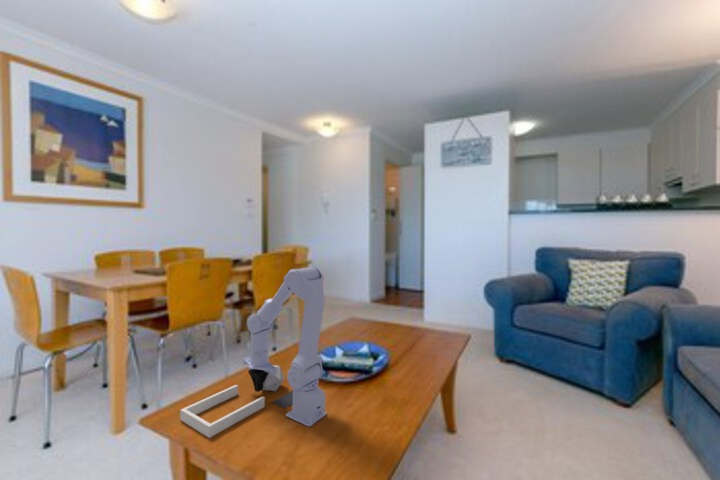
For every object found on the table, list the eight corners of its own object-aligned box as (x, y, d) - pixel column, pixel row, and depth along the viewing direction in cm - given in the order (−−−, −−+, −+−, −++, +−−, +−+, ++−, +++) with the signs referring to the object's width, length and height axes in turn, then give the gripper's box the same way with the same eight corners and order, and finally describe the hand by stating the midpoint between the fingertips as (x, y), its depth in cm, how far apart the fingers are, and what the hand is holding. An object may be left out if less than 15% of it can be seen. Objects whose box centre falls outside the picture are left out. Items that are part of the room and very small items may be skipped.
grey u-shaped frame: (264, 406, 101) (264, 397, 101) (209, 437, 86) (209, 426, 86) (236, 393, 109) (236, 384, 109) (180, 419, 93) (180, 409, 93)
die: (266, 399, 106) (285, 373, 109) (247, 382, 109) (266, 357, 111) (274, 397, 114) (292, 373, 116) (257, 381, 116) (274, 358, 119)
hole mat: (307, 395, 109) (307, 394, 109) (285, 408, 100) (285, 408, 100) (294, 390, 112) (294, 389, 112) (271, 402, 104) (271, 402, 104)
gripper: (235, 348, 108) (234, 388, 109) (265, 359, 100) (264, 402, 101) (252, 342, 114) (251, 380, 115) (282, 352, 106) (281, 393, 107)
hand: (258, 390), depth 108 cm, fingers closed, pressing on die
